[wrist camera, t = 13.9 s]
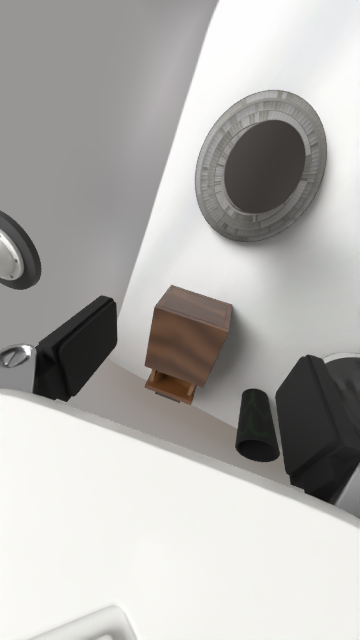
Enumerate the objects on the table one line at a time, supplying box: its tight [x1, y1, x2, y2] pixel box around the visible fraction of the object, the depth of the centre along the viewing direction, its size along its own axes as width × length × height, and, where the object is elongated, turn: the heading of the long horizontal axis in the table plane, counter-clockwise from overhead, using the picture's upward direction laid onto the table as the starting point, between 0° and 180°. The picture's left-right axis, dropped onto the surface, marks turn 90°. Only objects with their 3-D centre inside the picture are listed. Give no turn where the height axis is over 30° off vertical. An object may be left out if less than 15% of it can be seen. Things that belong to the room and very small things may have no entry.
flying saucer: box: [195, 90, 327, 242], centre depth 24 cm, size 15×15×6 cm
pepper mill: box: [224, 119, 306, 214], centre depth 17 cm, size 5×5×12 cm
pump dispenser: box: [323, 352, 360, 441], centre depth 31 cm, size 10×10×15 cm
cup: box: [235, 389, 280, 462], centre depth 43 cm, size 8×8×12 cm
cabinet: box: [145, 285, 232, 388], centre depth 38 cm, size 14×12×9 cm
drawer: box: [145, 369, 196, 405], centre depth 44 cm, size 16×10×7 cm, turn 167°
